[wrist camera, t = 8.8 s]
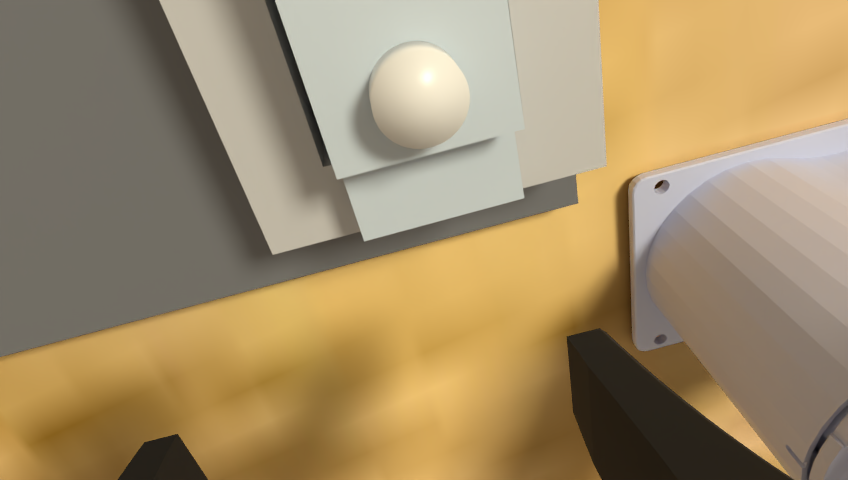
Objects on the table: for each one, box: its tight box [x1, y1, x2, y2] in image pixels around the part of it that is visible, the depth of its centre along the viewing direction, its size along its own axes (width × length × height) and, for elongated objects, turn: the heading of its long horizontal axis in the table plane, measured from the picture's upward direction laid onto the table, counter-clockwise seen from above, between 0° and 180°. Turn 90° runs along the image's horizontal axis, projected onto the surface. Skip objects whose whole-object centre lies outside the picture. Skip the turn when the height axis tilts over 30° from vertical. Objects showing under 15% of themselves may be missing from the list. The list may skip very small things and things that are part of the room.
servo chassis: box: [0, 0, 607, 357], centre depth 13 cm, size 20×16×4 cm
